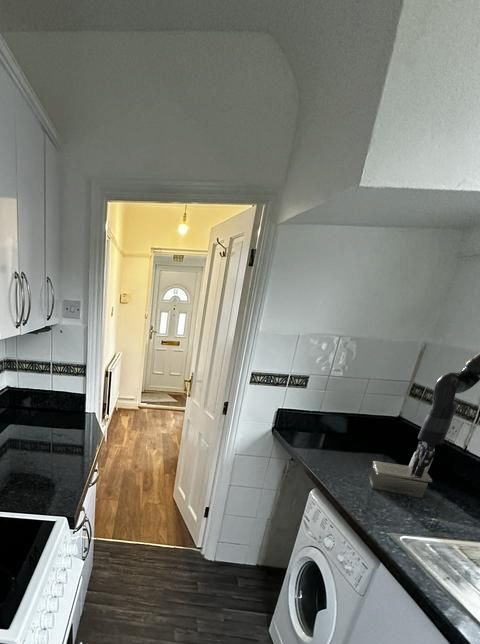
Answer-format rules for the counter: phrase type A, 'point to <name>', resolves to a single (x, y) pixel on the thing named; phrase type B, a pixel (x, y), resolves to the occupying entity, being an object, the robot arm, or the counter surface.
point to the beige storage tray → (397, 484)
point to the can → (414, 461)
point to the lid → (400, 471)
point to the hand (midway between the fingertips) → (416, 471)
